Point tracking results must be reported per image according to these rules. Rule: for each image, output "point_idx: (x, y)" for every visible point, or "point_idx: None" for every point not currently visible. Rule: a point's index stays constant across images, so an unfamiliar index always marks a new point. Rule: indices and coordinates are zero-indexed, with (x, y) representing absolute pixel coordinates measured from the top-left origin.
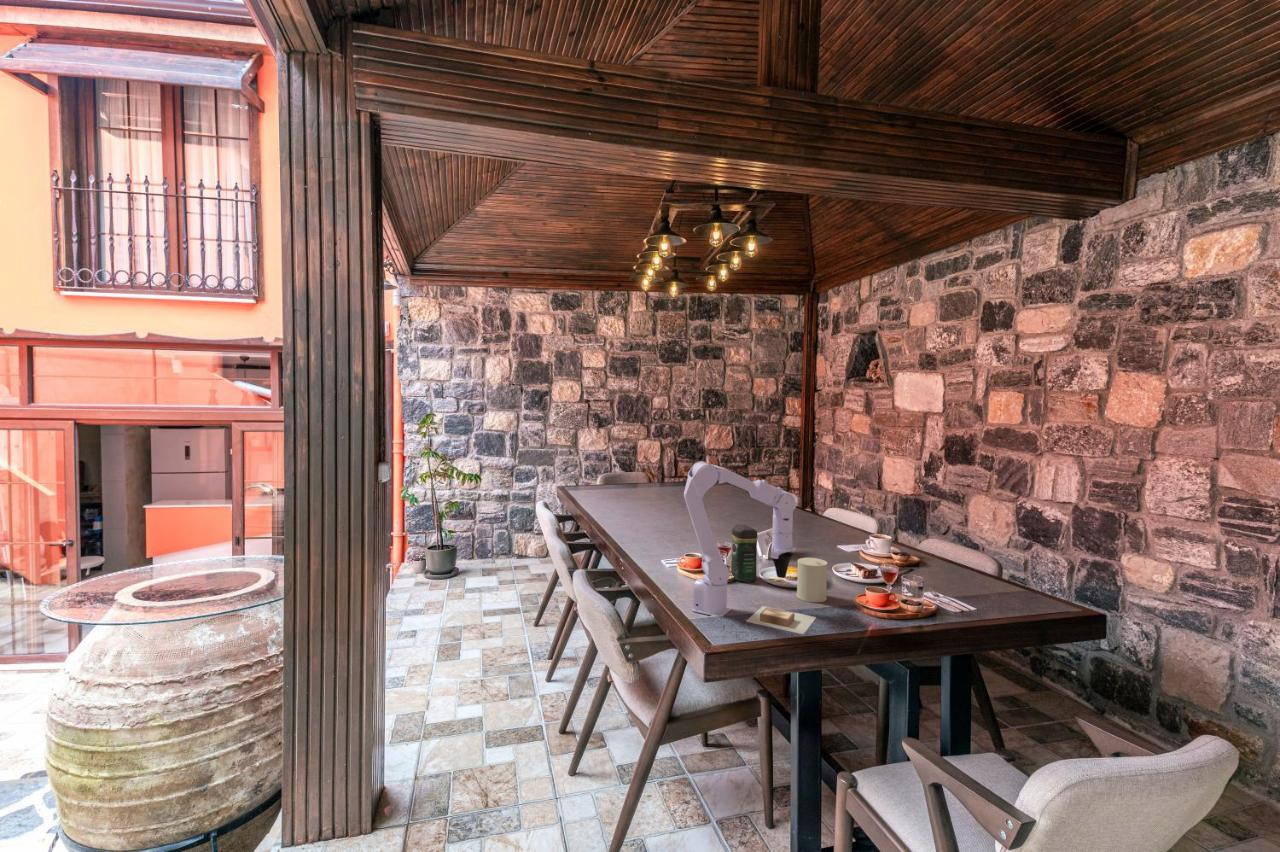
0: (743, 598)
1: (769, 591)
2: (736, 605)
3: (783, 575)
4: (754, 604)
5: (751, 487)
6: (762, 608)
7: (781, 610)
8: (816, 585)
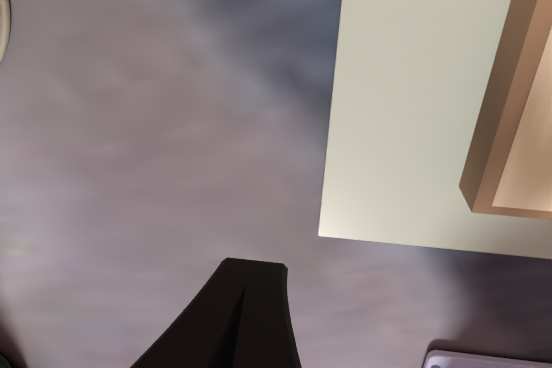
0: None
1: (29, 245)
2: (349, 339)
3: (285, 295)
4: None
5: None
6: (365, 227)
7: (512, 102)
8: None
